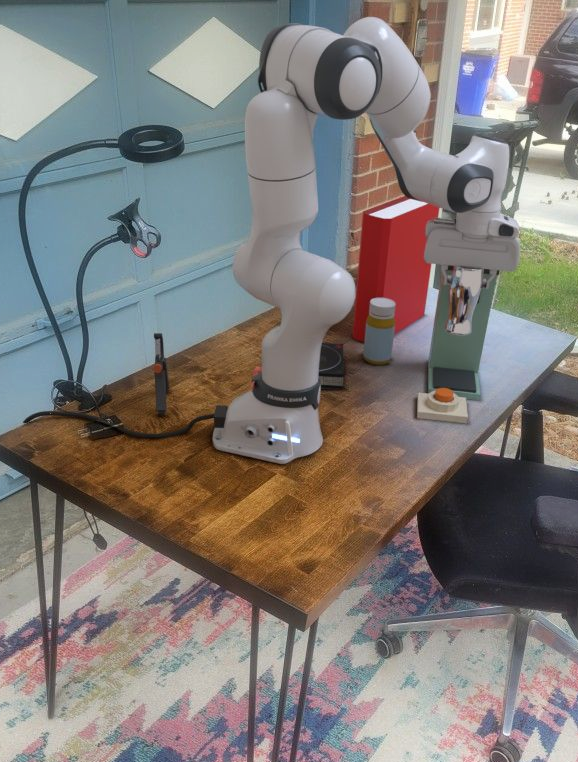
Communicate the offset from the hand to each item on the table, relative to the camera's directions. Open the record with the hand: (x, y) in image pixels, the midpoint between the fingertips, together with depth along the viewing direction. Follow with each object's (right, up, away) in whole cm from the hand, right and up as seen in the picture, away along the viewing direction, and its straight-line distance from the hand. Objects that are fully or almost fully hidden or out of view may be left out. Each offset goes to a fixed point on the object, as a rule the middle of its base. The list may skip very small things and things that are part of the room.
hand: (465, 286), depth 159 cm
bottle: (-19, -11, +24) cm, 33 cm away
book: (-15, +1, +42) cm, 44 cm away
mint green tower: (0, -17, +18) cm, 25 cm away
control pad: (-5, -27, +5) cm, 28 cm away
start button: (-4, -24, +3) cm, 25 cm away
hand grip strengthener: (-66, -26, -1) cm, 71 cm away
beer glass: (-1, -8, +6) cm, 10 cm away
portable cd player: (-35, -16, +16) cm, 42 cm away
